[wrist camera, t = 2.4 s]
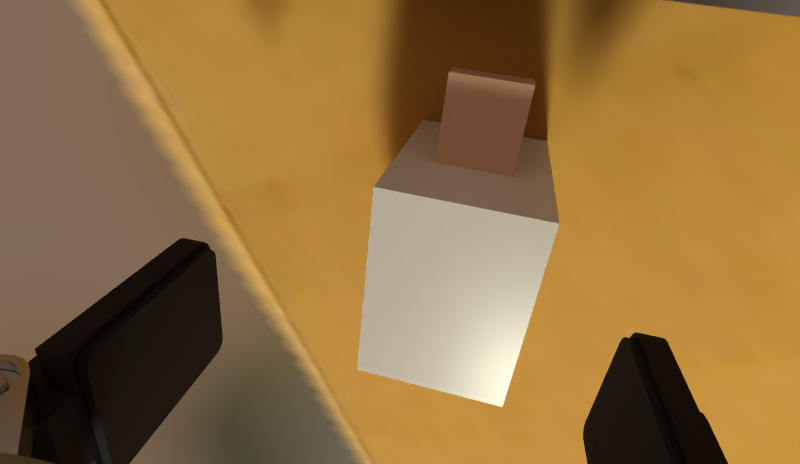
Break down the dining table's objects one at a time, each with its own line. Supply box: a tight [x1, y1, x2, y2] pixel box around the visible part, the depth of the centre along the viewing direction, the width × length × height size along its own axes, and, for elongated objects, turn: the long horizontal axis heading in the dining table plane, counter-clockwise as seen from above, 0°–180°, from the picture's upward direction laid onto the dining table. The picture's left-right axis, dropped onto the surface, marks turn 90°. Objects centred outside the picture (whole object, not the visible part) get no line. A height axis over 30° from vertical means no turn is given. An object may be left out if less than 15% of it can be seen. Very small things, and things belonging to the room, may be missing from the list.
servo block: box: [357, 67, 559, 407], centre depth 14 cm, size 4×10×6 cm, turn 174°
